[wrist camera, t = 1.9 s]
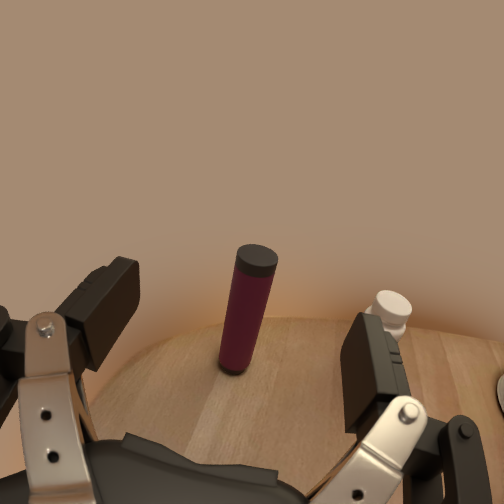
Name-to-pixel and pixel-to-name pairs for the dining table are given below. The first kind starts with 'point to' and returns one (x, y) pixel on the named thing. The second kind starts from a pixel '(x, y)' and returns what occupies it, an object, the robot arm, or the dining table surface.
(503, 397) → the chalice
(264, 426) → the dining table surface
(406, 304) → the pill bottle
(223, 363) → the marker
